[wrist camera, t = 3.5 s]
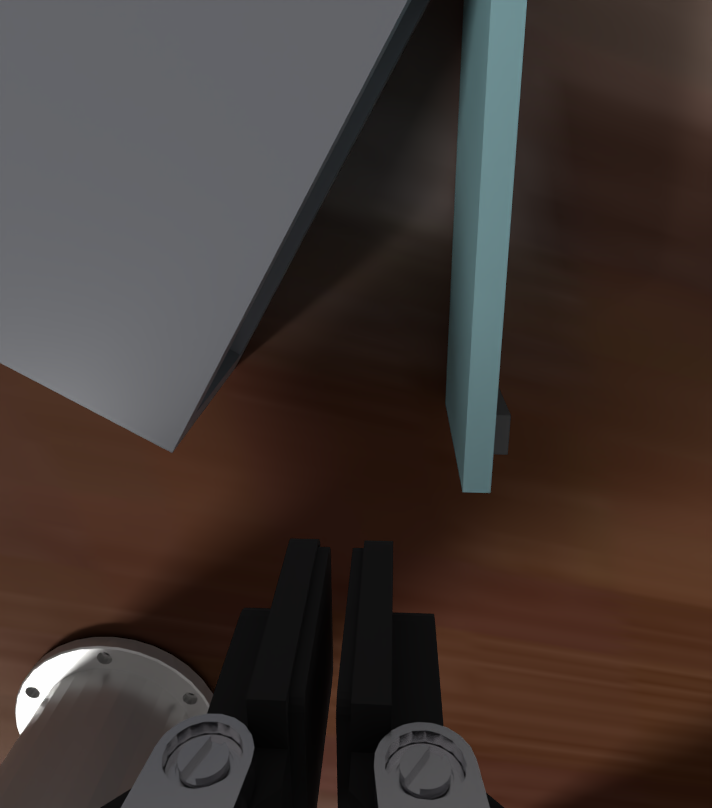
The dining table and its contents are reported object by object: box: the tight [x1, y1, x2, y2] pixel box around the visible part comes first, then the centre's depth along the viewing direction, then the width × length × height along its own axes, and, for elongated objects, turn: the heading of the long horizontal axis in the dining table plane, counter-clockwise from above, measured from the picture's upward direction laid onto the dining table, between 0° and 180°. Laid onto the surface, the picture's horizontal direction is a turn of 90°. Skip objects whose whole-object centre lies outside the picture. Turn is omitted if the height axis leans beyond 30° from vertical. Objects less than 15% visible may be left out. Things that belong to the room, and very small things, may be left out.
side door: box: [445, 0, 527, 493], centre depth 25 cm, size 2×19×9 cm, turn 0°
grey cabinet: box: [0, 0, 430, 452], centre depth 24 cm, size 16×20×10 cm
